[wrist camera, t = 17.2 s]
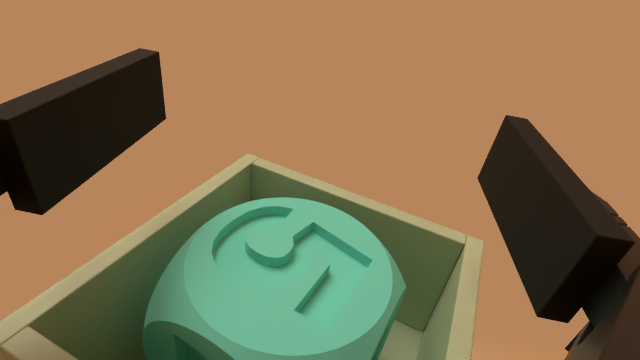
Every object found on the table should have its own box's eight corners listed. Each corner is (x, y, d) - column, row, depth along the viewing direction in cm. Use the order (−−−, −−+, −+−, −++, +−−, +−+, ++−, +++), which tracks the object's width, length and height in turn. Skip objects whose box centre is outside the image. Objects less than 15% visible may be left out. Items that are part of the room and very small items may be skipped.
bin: (52, 446, 15) (-19, 333, 11) (245, 248, 26) (247, 152, 21) (358, 690, 11) (438, 666, 7) (434, 336, 22) (484, 240, 17)
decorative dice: (302, 523, 13) (336, 425, 9) (151, 397, 16) (122, 275, 12) (381, 353, 19) (424, 244, 15) (262, 283, 22) (269, 174, 18)
